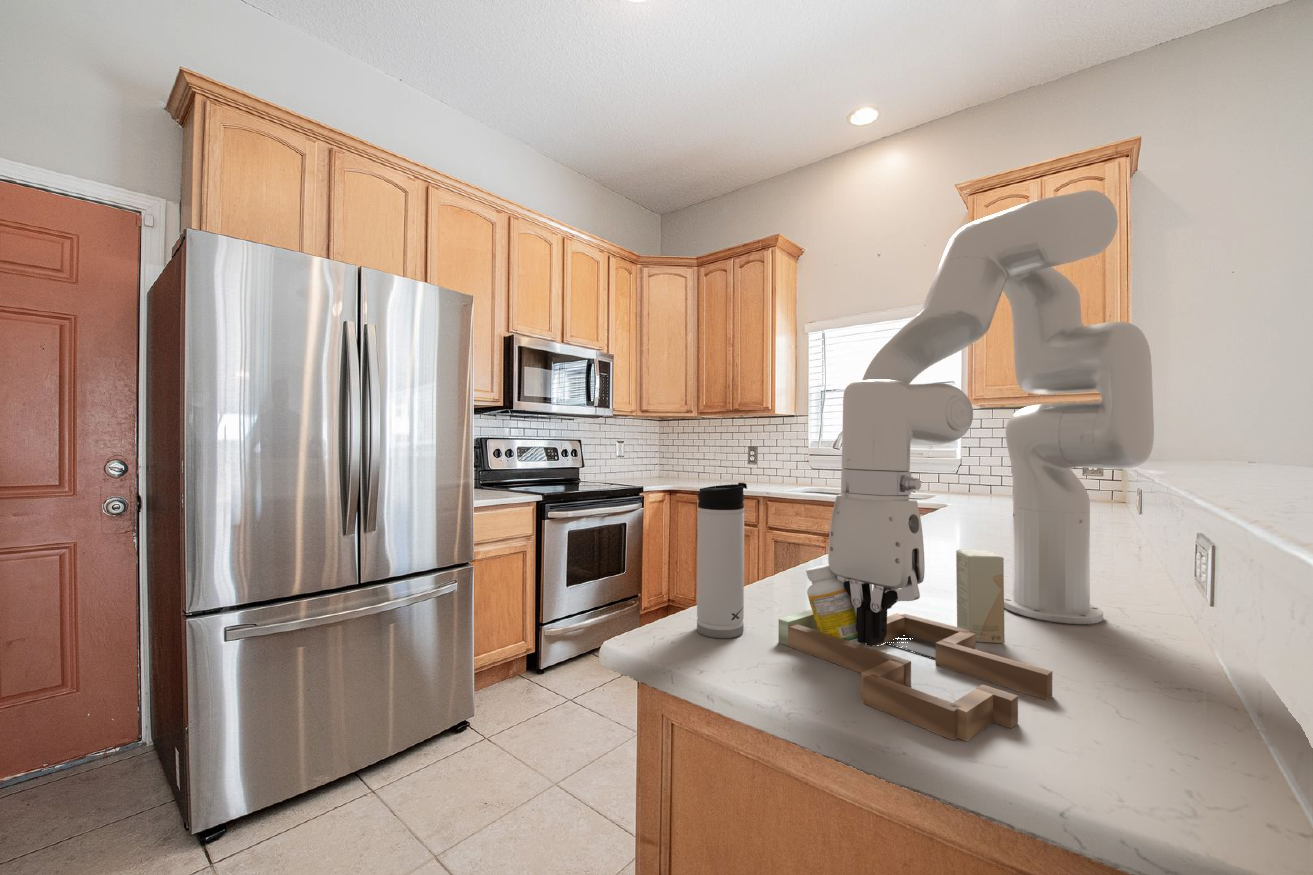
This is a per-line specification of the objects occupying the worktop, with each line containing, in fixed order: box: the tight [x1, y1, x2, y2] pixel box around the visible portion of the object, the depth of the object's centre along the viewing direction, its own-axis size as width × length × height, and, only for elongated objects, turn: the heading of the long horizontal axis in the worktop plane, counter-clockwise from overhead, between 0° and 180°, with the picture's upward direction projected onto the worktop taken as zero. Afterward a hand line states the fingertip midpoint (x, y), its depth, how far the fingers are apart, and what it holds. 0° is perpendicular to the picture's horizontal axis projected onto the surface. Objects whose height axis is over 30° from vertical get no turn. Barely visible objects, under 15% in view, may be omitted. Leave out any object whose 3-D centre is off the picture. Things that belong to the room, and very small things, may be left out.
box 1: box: [778, 608, 1053, 742], centre depth 63 cm, size 23×26×3 cm
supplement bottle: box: [805, 563, 862, 645], centre depth 69 cm, size 5×5×10 cm
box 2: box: [955, 549, 1006, 644], centre depth 73 cm, size 5×4×11 cm
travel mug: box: [696, 482, 748, 640], centre depth 75 cm, size 6×7×20 cm
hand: (871, 641), depth 65 cm, fingers closed
